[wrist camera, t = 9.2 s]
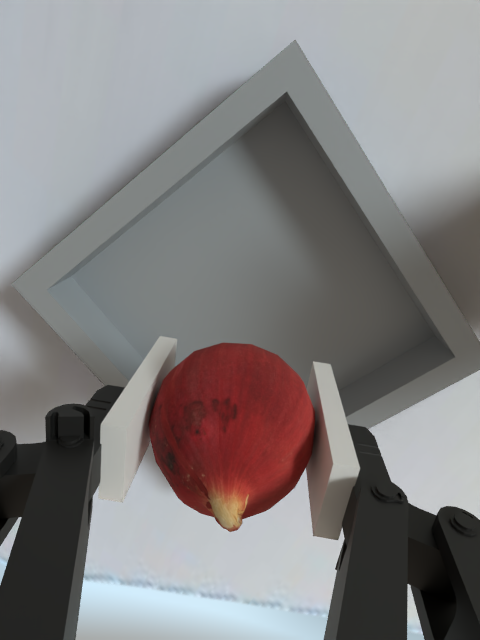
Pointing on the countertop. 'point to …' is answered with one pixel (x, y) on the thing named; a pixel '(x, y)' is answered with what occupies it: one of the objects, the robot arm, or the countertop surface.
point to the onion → (232, 431)
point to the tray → (261, 257)
